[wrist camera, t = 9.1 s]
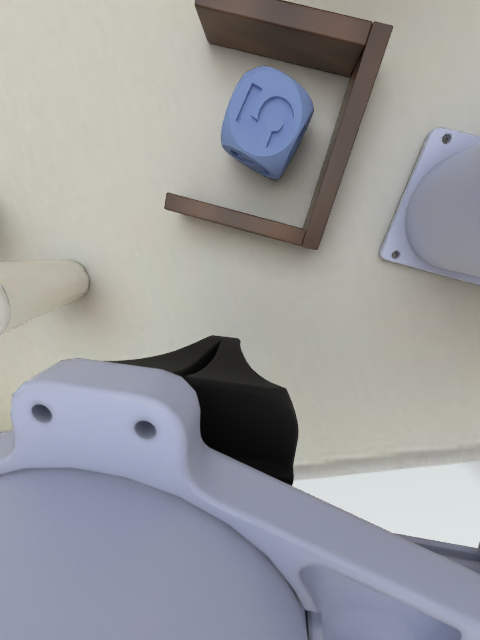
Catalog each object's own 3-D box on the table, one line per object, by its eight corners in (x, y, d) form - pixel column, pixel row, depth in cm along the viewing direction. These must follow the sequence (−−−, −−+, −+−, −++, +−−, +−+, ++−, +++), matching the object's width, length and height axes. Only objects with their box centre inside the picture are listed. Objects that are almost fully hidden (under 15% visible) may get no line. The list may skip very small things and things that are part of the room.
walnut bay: (373, 61, 16) (393, 25, 13) (311, 247, 20) (317, 250, 17) (211, 22, 17) (197, -21, 14) (179, 212, 20) (163, 208, 17)
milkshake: (30, 254, 23) (-146, 269, 13) (89, 248, 22) (-54, 261, 12) (47, 307, 24) (-103, 355, 15) (102, 303, 23) (-17, 353, 14)
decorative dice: (255, 90, 17) (249, 51, 14) (310, 123, 17) (319, 93, 14) (226, 155, 19) (214, 135, 15) (278, 184, 19) (278, 172, 15)
